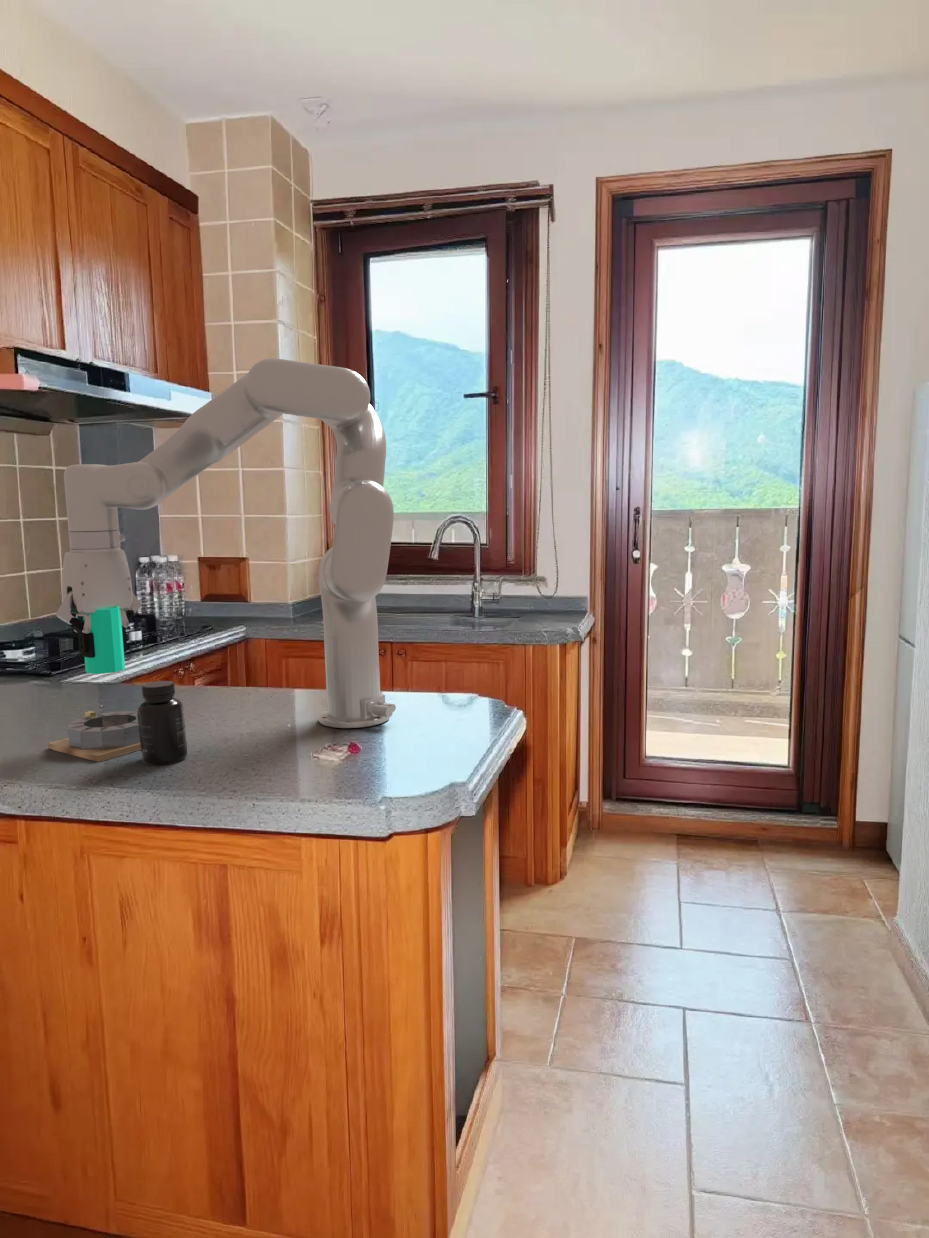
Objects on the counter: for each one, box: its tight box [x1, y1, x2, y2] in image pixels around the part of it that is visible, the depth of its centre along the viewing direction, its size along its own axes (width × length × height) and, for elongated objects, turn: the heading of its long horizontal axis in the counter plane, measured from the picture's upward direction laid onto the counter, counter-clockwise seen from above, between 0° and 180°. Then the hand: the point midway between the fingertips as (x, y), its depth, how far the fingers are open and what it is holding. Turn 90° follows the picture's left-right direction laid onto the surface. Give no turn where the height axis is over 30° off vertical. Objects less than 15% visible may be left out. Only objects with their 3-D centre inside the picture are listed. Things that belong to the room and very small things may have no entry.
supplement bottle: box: [136, 680, 188, 766], centre depth 136 cm, size 7×7×12 cm
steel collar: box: [67, 710, 140, 750], centre depth 145 cm, size 13×13×4 cm
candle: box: [82, 606, 126, 675], centre depth 143 cm, size 6×6×12 cm
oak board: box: [47, 737, 141, 763], centre depth 145 cm, size 14×14×1 cm
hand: (103, 652), depth 143 cm, fingers closed on candle, 4 cm apart
